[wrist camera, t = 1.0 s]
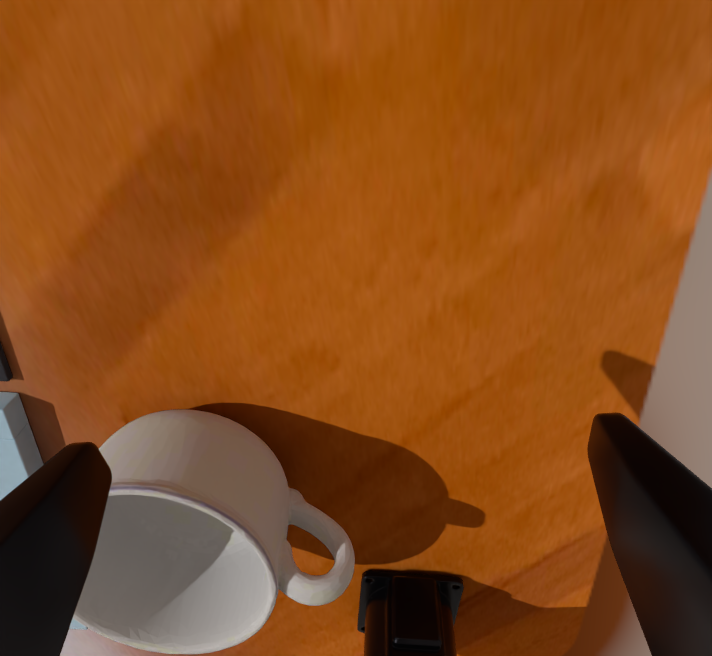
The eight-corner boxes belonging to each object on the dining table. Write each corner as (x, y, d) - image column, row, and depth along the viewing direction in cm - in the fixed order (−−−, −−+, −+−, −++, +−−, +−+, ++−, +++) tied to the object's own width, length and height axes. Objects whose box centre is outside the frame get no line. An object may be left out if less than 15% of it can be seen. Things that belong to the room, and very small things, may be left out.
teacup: (100, 493, 32) (25, 627, 25) (115, 351, 27) (24, 474, 20) (325, 548, 34) (310, 686, 27) (382, 425, 28) (382, 561, 22)
